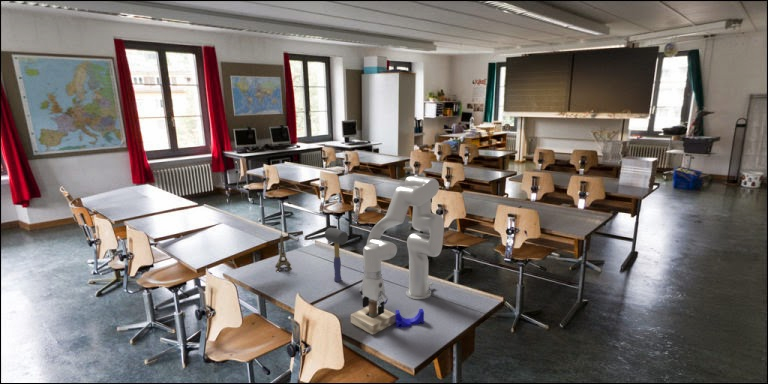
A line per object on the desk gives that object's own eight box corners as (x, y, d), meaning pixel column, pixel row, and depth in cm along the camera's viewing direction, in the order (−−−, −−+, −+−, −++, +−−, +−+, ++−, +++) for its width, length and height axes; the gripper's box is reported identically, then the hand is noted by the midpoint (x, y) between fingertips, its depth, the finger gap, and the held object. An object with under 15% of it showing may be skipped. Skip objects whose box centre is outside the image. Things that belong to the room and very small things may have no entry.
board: (373, 311, 193) (373, 303, 192) (395, 322, 184) (395, 314, 183) (350, 322, 184) (350, 314, 183) (372, 334, 174) (372, 326, 173)
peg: (373, 319, 186) (373, 299, 184) (379, 322, 184) (378, 301, 182) (367, 322, 184) (366, 301, 182) (373, 325, 181) (372, 304, 179)
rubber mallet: (350, 283, 224) (349, 229, 218) (339, 287, 219) (338, 233, 213) (335, 277, 233) (334, 225, 227) (325, 281, 228) (323, 228, 221)
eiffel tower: (273, 267, 248) (271, 227, 243) (292, 265, 251) (289, 225, 246) (274, 274, 238) (272, 232, 233) (293, 271, 241) (291, 230, 236)
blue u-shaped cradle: (396, 328, 179) (396, 315, 178) (395, 322, 184) (395, 310, 183) (424, 326, 181) (424, 313, 179) (422, 321, 185) (422, 308, 184)
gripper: (393, 276, 175) (393, 313, 179) (365, 265, 188) (366, 300, 191) (380, 281, 170) (380, 320, 174) (352, 270, 182) (353, 306, 186)
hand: (373, 309), depth 183 cm, fingers open, 9 cm apart
